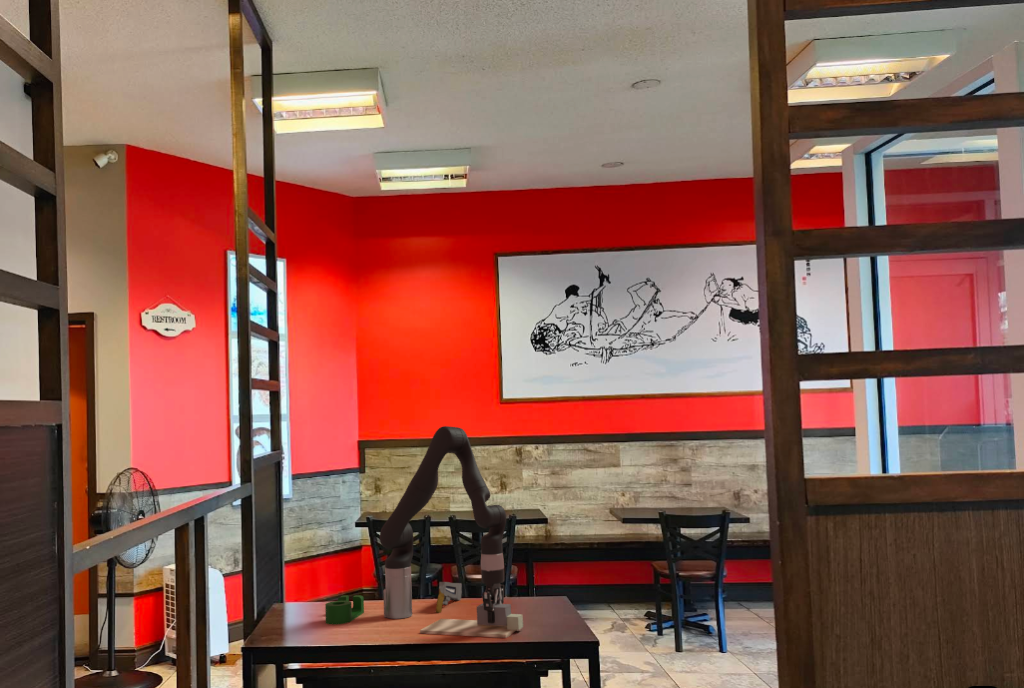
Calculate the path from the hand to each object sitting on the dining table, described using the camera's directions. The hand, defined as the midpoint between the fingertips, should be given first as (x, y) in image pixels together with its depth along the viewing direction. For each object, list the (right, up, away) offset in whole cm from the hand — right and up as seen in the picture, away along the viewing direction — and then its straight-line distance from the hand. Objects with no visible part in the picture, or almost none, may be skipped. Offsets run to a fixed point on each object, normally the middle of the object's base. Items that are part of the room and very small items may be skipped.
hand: (494, 620), depth 256 cm
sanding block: (0, -1, 0) cm, 1 cm away
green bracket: (-55, -9, +26) cm, 62 cm away
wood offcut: (+7, -2, -3) cm, 7 cm away
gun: (-18, -9, +42) cm, 46 cm away
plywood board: (-7, -4, +2) cm, 9 cm away
